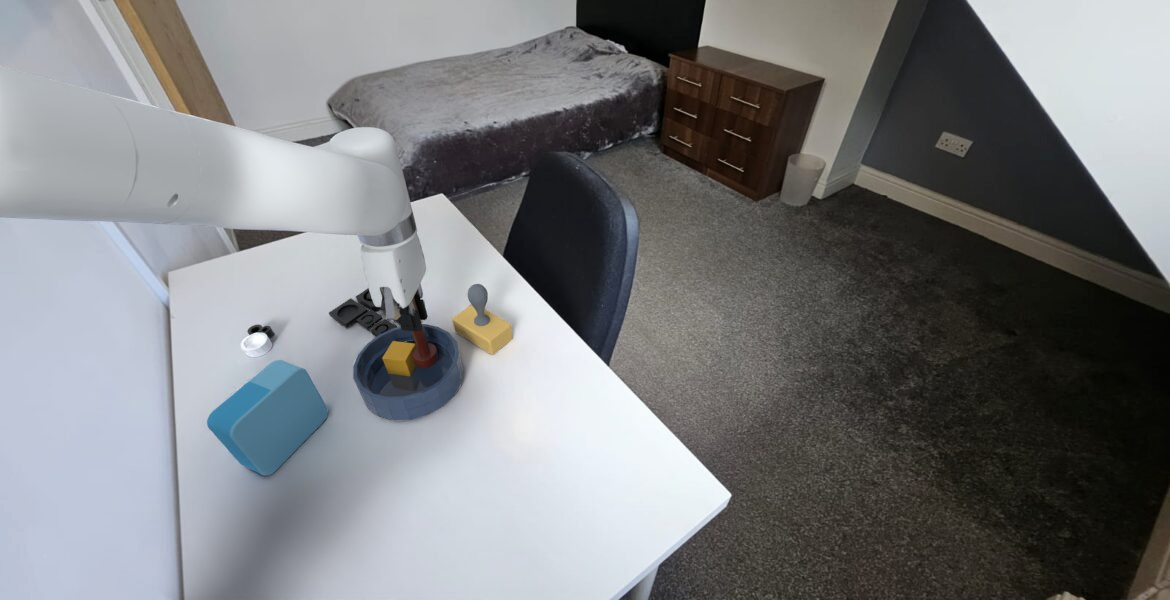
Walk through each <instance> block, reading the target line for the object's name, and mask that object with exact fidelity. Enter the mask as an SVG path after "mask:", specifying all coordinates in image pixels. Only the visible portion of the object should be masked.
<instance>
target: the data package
mask: <svg viewBox="0 0 1170 600" xmlns="http://www.w3.org/2000/svg"><path fill="white" fill-rule="evenodd" d="M309 374H310V373H308V371H307V369H305V368H303V367H300V366H298V365H295V364H293V363H290V362H288V361H286V360H282V359H277V360H274V361H271V362H270V363H269V364H268V365H267V366H265V367H264V368H263V369H262V370H260V372H258V373H257V374H256V375H254V377H252V378H251V379H250V380H249V381H247V382H246V383H244V385H242V387H239V389H238V390H236V392H234V393H233V394H231V396H229V397H228V398H226V399H225V401H223V402H222V403H221V404H219V405H218V406H216V408H215V409H214V410H213V411H211V413H210V414H209V415H208V417H207V420H206V425H207V428H208V429H209V430H210V431H211V433H212V434H213V435H214V436H215V437H216V438H217V440H218V441H219V442H220V444H222V445H223V446H224V447H225V449H227V451H228V452H229V453H230V455H232V456H233V457H234V459H235V460H236V461H237V462H238V463H239V465H241V466H243V467H245V468H247V469H249V470H252V471H254V472H255V473H258V474H260V475H262V476H270V475H272V474H274V473H275V472H276V471H277V470H278V469H280V467H281V466H282V465H283V464H285V462H286V461H287V460H288V459H289V458H290V457H291V456H292V455H293V454H294V453H295V452H296V451H297V450H298V449H299V448H300V447H301V446H302V444H303V443H305V442H306V440H308V438H309V437H311V435H313V433H314V432H315V431H316V430H317V429H318V428H319V427H320V426H321V425H322V424H323V423H324V422H325V420H326V419H327V418H328V414H329V409H328V406H327V405H326V403H325V401H324V399H323V397H322V395H321V394H320V392H319V390H318V388H317V387H316V385H315V384H314V381H313V380H312V378H311V376H310V375H309Z"/></svg>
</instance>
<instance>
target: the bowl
mask: <svg viewBox="0 0 1170 600" xmlns="http://www.w3.org/2000/svg"><path fill="white" fill-rule="evenodd" d="M422 326H423V329H424V332H425V336H426V339H427V342H428V343H431V344H433V345H435V347H436V349H437V352H438V356H439V359H438V361H437V363H436V364H435V365H433V366H431V367H429V368H419V367H417V366H416V367H415V369H414V371H413V373H412V375H411V376H403V375H395V374H388V372H387V369H386V367H385V364H384V361H383V359H382V358H383V356H384V354H385V353H386V351H387V350H388V348H389V346H390V345H391V343H392V341H397V342H406V343H415V340H414V337H413V333H412V331H404V330H402V329H401V326H397V327H396V328H393V329H391V330H389V331H386V332H384V333H382V334H380V335H378V336H377V337H376V336H375V337H374V338H372V339H371V340H370V341H368V342H367V343H366V344H365V346H364V347H363V348H362V349H361V350H360V351H359V353H358V354H357V356H356V358H355V360H354V363H353V365H352V378H353V382H354V383H355V385H356V387H357V390H358V391H359V394H360V396H361V398H362V401H363V402H364V403H365V406H366V407H367V409H368V410H369V411H371V412H372V413H373V414H375V415H377V416H378V417H380V418H383V419H387V420H390V421H413V420H416V419H419V418H423V417H427V416H428V415H431V414H432V413H434V412H436V411H437V410H440V409H441V408H444V407H445V405H447V403H449V402H450V401H451V400H452V399H453V398H454V397H455V396H456V394H457V392H458V390H460V387H461V386H462V383H463V378H464V368H463V367H464V366H463V364H462V358H461V353H460V349H459V346H458V342H457V340H456V339H455V338H454V337H453V335H452V334H451V333H450V332H449V331H447V330H445V329H443V328H441V327H440V326H436V325H431V324H427V323H422ZM415 345H416V343H415ZM416 347H417V346H416Z"/></svg>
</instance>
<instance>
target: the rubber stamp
mask: <svg viewBox="0 0 1170 600" xmlns="http://www.w3.org/2000/svg"><path fill="white" fill-rule="evenodd" d="M488 294H489V293H488V290H487V288H486V287H485V286H484V285H483V284H480V283H474V284H471V286H470V287H469V288H468V289H467V300H468V301H469V304H470V305H468V306H467V307H466V308H465V309H463V310H462V311H460V312H459V313H457V314H455V315H454V316H453V317H452V323H453V328H454V333H457V334H458V335H459V336H461V337H463V338H464V339H466V340H468V341H469V342H470V343H472V344H474V345H475V346H476V347H478V348H479V349H482V350H483V351H485V352H486V353H488V354H490V355H492V356H493V355H495V354H496V353H498V351H500V350H501V349H502V348H503V347H505V346H506V345H507V344H508V343H509V342H511V341H512V340H513V329H512V324H511V323H510V322H509V321H507V320H505V319H503V318H501V317H499V316H498V315H496V314H494V313H493V312H492V311H489V310H488V309H487V308H486V306H487V303H488V299H489V298H488Z"/></svg>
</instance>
